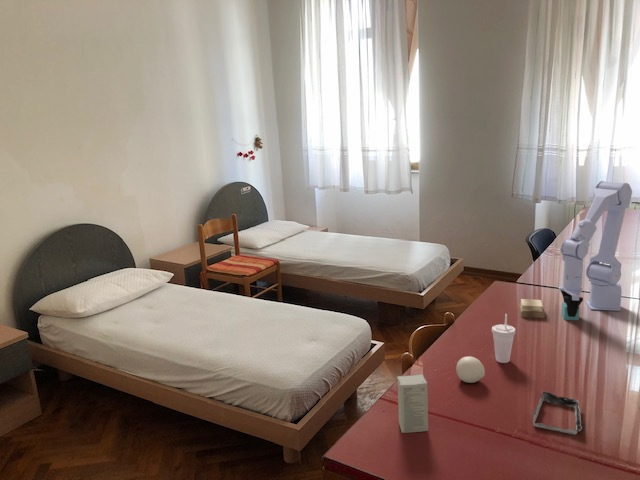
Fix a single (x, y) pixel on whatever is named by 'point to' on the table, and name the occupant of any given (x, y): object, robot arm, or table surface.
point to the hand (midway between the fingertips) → (570, 313)
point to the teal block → (565, 314)
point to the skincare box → (412, 403)
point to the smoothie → (503, 341)
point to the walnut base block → (531, 313)
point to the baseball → (470, 369)
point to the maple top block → (531, 305)
